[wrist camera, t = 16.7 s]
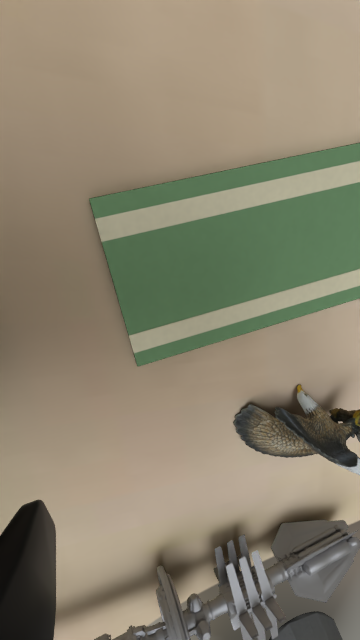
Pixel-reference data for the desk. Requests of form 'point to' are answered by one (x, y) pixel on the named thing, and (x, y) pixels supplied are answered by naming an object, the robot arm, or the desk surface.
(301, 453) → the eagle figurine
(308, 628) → the coffeepot
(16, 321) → the desk surface
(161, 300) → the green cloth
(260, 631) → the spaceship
